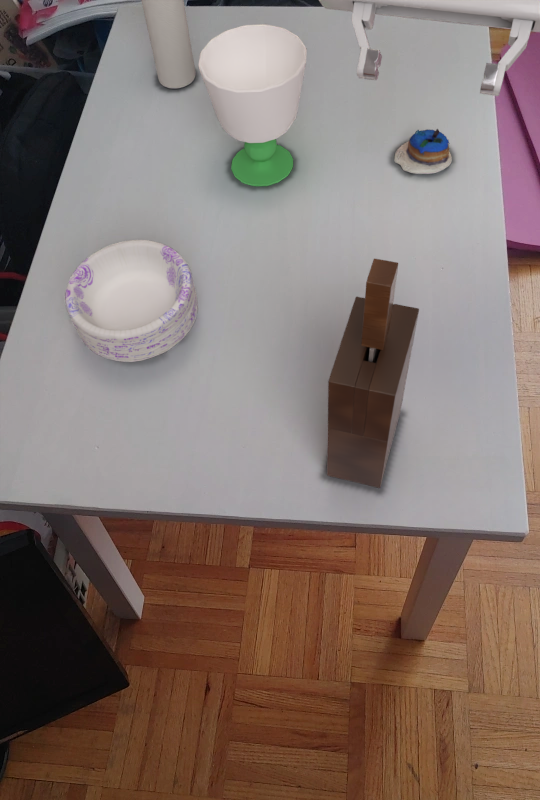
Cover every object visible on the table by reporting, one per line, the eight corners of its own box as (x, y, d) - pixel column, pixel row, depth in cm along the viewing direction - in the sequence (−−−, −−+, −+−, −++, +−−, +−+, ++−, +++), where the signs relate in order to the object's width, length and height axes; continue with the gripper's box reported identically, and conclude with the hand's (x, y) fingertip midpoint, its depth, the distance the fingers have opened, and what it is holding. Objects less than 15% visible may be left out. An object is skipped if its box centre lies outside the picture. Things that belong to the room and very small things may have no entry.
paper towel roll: (187, 92, 110) (159, -64, 91) (152, 86, 111) (117, -68, 92) (204, 64, 113) (180, -92, 94) (170, 59, 114) (139, -97, 95)
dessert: (464, 145, 99) (455, 128, 93) (443, 191, 100) (433, 177, 95) (414, 131, 102) (403, 113, 96) (394, 175, 103) (382, 160, 98)
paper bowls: (71, 305, 91) (50, 260, 84) (181, 268, 93) (170, 222, 86) (99, 394, 84) (79, 354, 77) (218, 353, 86) (209, 310, 79)
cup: (203, 192, 99) (184, 86, 85) (229, 129, 105) (214, 19, 91) (298, 203, 97) (293, 96, 83) (318, 138, 103) (317, 27, 89)
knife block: (326, 475, 77) (328, 381, 61) (349, 402, 82) (355, 296, 66) (380, 488, 76) (395, 396, 60) (400, 413, 80) (419, 308, 64)
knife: (356, 404, 70) (365, 283, 54) (363, 379, 71) (374, 256, 56) (375, 408, 69) (390, 288, 54) (382, 384, 70) (399, 260, 55)
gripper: (620, -102, 50) (562, 112, 54) (341, -123, 54) (309, 79, 58) (641, -151, 44) (573, 93, 49) (326, -170, 48) (291, 58, 53)
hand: (427, 85), depth 54 cm, fingers open, 8 cm apart
